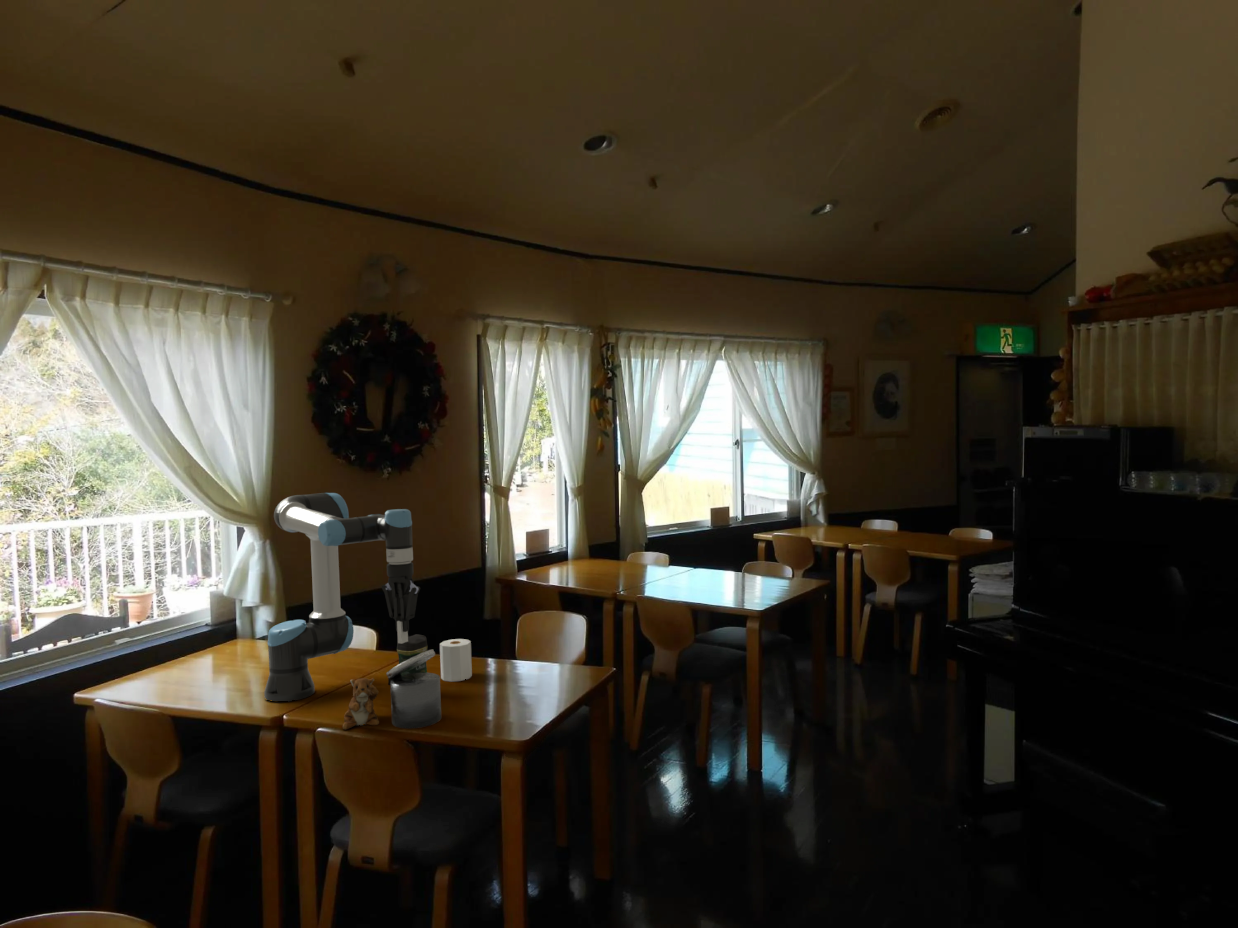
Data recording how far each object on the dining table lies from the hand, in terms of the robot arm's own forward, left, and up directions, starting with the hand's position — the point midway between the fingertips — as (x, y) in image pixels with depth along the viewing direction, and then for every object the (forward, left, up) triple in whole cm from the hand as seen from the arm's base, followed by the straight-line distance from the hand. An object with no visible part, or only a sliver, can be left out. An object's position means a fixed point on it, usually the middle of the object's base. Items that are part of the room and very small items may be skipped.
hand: (402, 642), depth 239 cm
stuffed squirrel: (-3, -12, -23) cm, 26 cm away
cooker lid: (+2, +2, -7) cm, 7 cm away
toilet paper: (-34, +22, -23) cm, 46 cm away
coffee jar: (-23, +6, -23) cm, 33 cm away
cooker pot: (+3, +3, -23) cm, 23 cm away
